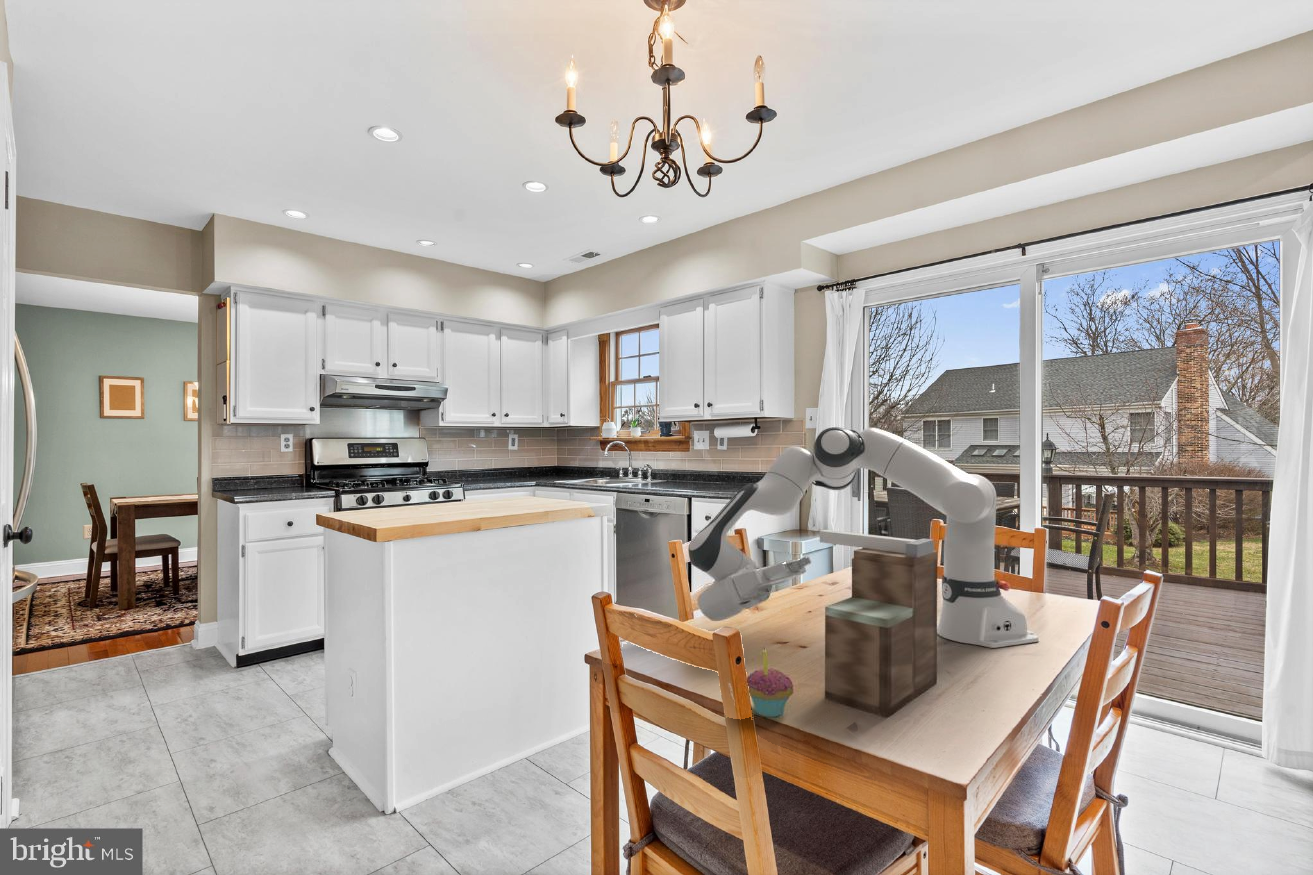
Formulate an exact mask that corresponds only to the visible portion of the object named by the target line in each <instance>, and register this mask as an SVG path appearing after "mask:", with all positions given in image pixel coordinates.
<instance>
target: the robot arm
mask: <svg viewBox="0 0 1313 875" xmlns="http://www.w3.org/2000/svg"><path fill="white" fill-rule="evenodd" d="M857 469H866V470H869V471H873V472H875V473H876V474H878V475H879V476H881V477H883V478H885V479H887V481H890V482H891V483H894V484H895V485H897V486H899V487H901V488H902V489H904V490H906V491H908V492H910V493H911V494H913V495H915V496H916V497H918V498H919V499H921V500H922V501H924V503H926V504H927V505H929V506H931V507H932V508H934V510H937V511H939V512H940V513H942V514H943V515H945V516H946V522H945V523H946V524H945V534H944V540H943V541H944V542H943V574H942V575H941V596H942V604H941V605H942V606H941V612H940V616H939V617H940V618H939V621H938V624H937V635H938V636H940V637H941V638H944V639H947V640H951V641H954V642H958V643H963V644H970V645H976V646H981V647H986V648H992V649H996V648H1002V647H1009V646H1016V645H1023V644H1029V643H1036V642H1039V641H1040V640H1039V636H1038V635H1037V634H1036V633H1035V632H1033V631H1031V630H1029V629H1028V623H1027V618H1026V615H1025V614H1024V612H1023V611H1022V609H1020V608H1018V607H1017V606H1016V605H1015V604H1013V603H1012V602H1011V601H1009V599H1007V598H1006V597H1005V596H1004V595H1002V592H1001V590H1003V591H1005V592H1008V591H1010V589H1011V584H1010V582H1007V581H1004V580H1000V581H999V580H997V579H996V578H995V543H996V542H995V539H996V523H997V522H996V521H997V520H996V519H997V492H996V489H995V486H994V485H993V483H992V482H991V481H990V480H989V479H987V478H986V477H984V476H983V475H980V474H976V473H967V472H965V471H963V470H961V469H959V468H958V467H957V466H955V465H953V464H951V463H950V462H948V461H946V460H944V459H942V458H941V457H940V456H938V455H937V454H934V453H933V452H930V451H929V450H927V449H925V448H923V447H921V446H919V445H917V444H916V443H913V442H911V441H909V440H908V439H905V438H903V437H901V436H899V435H897V434H894V433H892V432H889V431H887V430H883V429H880V428H877V427H866V428H865V429H863V430H861V431H860V432H859V431H856V430H854V429H847V428H843V427H839V426H838V427H836V426H835V427H828V428H826V429H825V428H824V429H823V430H822V431H821V432H819V434H818V435H817V436H816V438H815V441H814V443H813V449H812V450H810V449H806V448H803V447H801V446H789V447H787V448H785V449H784V450H783V451H782V453H781V454H779V456H778V457H776V459H775V460H774V462H773V463H772V465H770V467H769V469H768V470H767V471H766V473H765V474H764V476H762V477H763V478H761V480H759V481H758V482H756V483H755V482H754V483H753V482H749V483H748V484H747V483H746V485H743V487H741V488H740V489H739V490H738V492H736V493H735V494H734V495H733V496H732V498H731V499H730V500H729V501H728V502H727V503H726V504H725V505H724V506H723V507H722V509H721V510H720V511H719V512H718V513H717V514H716V515H715V516H714V517H713V519H712V520H711V521H709V523H708V524H707V525H706V526H705V527H704V528H702V530H700V531H699V532H698V533H697V534H695V536H694V537H693V538H692V540H691V541H690V543H689V545H688V558H689V560H690V564H691V565H692V566H694V567H696V569H698V570H700V571H701V572H704V573H705V574H706V575H708V576H709V577H711V578H712V579H714V581H713V583H712V584H711V585H710V586H708V587H707V588H706V589H705V590H703V591H702V592H701V593H700V594H699V595H698V597H697V606H698V608H699V610H700V612H701V613H702V614H703V615H704V617H705V618H707V619H709V620H710V621H713V622H719V621H720V622H721V621H724V620H727V619H730V618H732V617H734V616H737V615H739V614H741V613H742V612H743V611H744V610H749V609H751V608H754V607H756V606H758V605H760V604H761V603H764V602H767V600H769V599H770V597H771V592H772V590H773V587H775V586H778V585H781V584H784V583H787V582H789V581H792V580H793V579H795V578H798V577H800V576H801V575H804V574H805V573H806V572H807V569H806V567H807V566H809V565H811V564H812V560H811V558H810V557H809V556H808V555H807V556H803V557H802V558H801V557H800V558H795V559H792V560H788V561H783V562H780V563H776V564H772V565H768V566H764V567H758V566H757V564H756V562H755V561H754V560H753V559H752V558H751V557H750V556H748V555H747V554H746V553H744V552H743V551H742V550H741V549H739V548H737V546H735V545H734V544H733V543H731V542H730V541H729V540H728V539H727V534H728V532H730V530H731V529H732V528H733V527H734V526H735V525H736V524H737V522H738V521H739V520H741V518H742V516H744V514H745V513H747V512H750V511H755V512H759V513H762V514H766V515H768V516H776V517H777V516H785V515H788V514H790V513H792V512H793V511H794V510H795V509H796V508H797V506H798V505H799V503H800V502H801V500H802V499H803V496H804V495H805V494H806V491H807V490H808V488H809V486H811V484H812V485H813V486H816V487H820V488H821V487H822V488H825V489H827V490H831V491H841V490H845V489H847V488H848V487H850V485H851V484H852V483H853V481H854V480H855V478H856V475H857Z"/></svg>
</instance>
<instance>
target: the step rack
mask: <svg viewBox="0 0 1313 875" xmlns="http://www.w3.org/2000/svg"><path fill="white" fill-rule="evenodd" d="M824 619H825V620H824V699H826V700H829V701H832V702H835V703H838V704H842V705H844V706H848V707H852V708H855V709H858V710H861V711H865V712H867V713H871V714H873V715H877V716H881V717H884V718H886V719H888V718H889V717H891V716H893V715H894V714H895V713H896V712H899V710H901V709H903V707H905V706H907V705H908V704H909V703H910V702H912V701H913V699H914V700H915V699H917V698H919V697H920V696H921V695H923V693H925V692H927V691H928V690H930V689H931V688H932V687H933V686H935V685H937V684H938V682H937V681H938V678H937V676H938V673H937V672H938V669H937V668H938V665H937V664H938V661H937V660H938V634H937V628H938V550H934V552H933V553H930V554H927V555H924V556H921V557H918V558H917V557H910V556H906V553H900V552H892V551H884V550H877V549H869V548H858V549H855V550H853V558H851V596H850V597H848V598H845V599H843V600H839V601H837V602H834V603H831V604H829V605H826V606H824Z"/></svg>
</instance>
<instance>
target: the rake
mask: <svg viewBox="0 0 1313 875" xmlns="http://www.w3.org/2000/svg"><path fill="white" fill-rule="evenodd" d="M819 543H822V544H823V543H824V544H832V545H839V546H847V547H855V548H860V549H862V548H869V549H877V550H884V551H892V552H900V553H906V556H910V557H917V558H918V557H921V556H924V555H927V554H930V553H933V552H934V551H935V539H933V538H930V539H929V538H920V539H911V538H902V537H894V536H884V535H877V534H876V535H875V534H867V533H858V532H857V533H856V532H849V531H840V530H839V531H838V530H830V529H822V530H819Z"/></svg>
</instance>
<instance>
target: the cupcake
mask: <svg viewBox="0 0 1313 875" xmlns="http://www.w3.org/2000/svg"><path fill="white" fill-rule="evenodd" d="M767 655H768V654H767V650H766V648H765V646H763V650H762V662H763V663H762V664H763V669H759V670H758V669H757V670H755V671H753V672H752V673H750V674H749V675H747V676H746V678H747V683H748V686H749V693H750V695H749V696H750V697H751V699H752V702H753V706H754V709H755V710H754V711H755V712H756V714H758V715H760V716H762V717H766V718H767V717H768V718H769V717H770V718H775V717H779V716H781V715H782V714H783V713H784V710H785V706H786V704H787V701H788V700H789V698H790V697H791V696H792V695H793V694H794V683H793V681H792V679H791V678H790V677H789V675H786V674H784V672H782V671H779V670H778V669H774V668H768V656H767Z"/></svg>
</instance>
